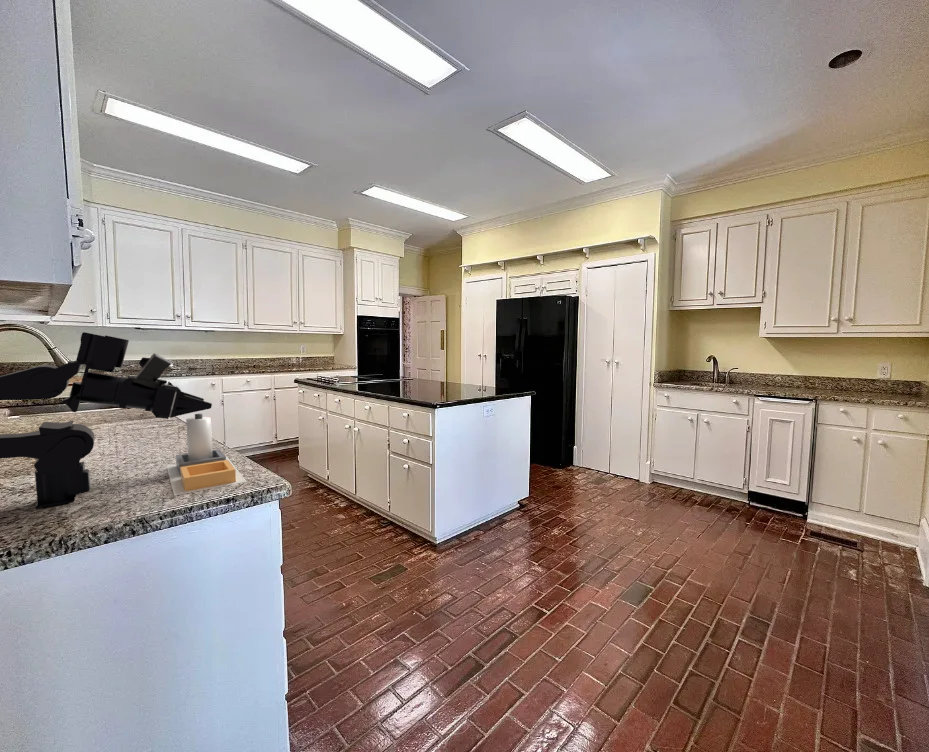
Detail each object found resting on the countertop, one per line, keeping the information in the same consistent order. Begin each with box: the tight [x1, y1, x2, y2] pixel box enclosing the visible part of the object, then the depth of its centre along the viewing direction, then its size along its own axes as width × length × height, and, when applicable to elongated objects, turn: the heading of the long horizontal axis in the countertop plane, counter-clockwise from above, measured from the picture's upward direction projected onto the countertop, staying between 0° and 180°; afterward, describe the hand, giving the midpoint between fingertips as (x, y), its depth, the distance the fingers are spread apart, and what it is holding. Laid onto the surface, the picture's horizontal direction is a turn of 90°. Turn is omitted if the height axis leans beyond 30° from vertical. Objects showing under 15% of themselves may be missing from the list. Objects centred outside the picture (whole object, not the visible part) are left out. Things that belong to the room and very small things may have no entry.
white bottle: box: [185, 412, 213, 462], centre depth 91 cm, size 5×5×12 cm
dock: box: [166, 448, 247, 496], centre depth 88 cm, size 12×22×4 cm, turn 39°
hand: (207, 403), depth 90 cm, fingers open, 9 cm apart
